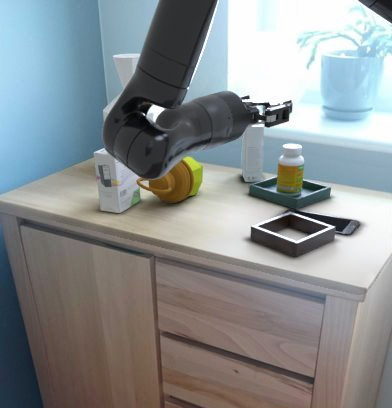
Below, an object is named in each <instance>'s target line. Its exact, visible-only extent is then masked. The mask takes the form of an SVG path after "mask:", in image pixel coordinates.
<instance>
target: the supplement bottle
mask: <svg viewBox="0 0 392 408" xmlns="http://www.w3.org/2000/svg"><path fill="white" fill-rule="evenodd" d="M302 152H303V146H302V145H301V144H298V143H286V144H283V145H282V149H281V154H282V155H280V156H279V158H278V161H277V172H276V173H277V174H276V176H277V187H276V192H278V193H281V194H285V195H288V196H297V195H300V194H301V192H302V183H303V179H304V173H305V172H304V170H305V158H304V157H303V156H302V154H303V153H302Z"/></svg>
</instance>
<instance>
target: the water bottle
mask: <svg viewBox="0 0 392 408" xmlns="http://www.w3.org/2000/svg"><path fill="white" fill-rule="evenodd" d="M203 171H204V166H203V165H202V164H201V163H200V162H198V161H197V160H195V159H194V157H192V156H186V157H184V158H183V159H182V160H181V161H180V162H179V163H178V164H176V165H175V166H174V167H173V168H172V169H171V170H170V171H169V172H168V173H167V174H166V175H165V176H163V177H162V178H159V179H155V180H147V179H143V178H141V177H139V179H137V184H138V186H140V189H143V190H146V191H147V192H150V193H152V194H153V195H155V196H157V198H159V200H161V201H163V202H165V203H169V204H176V203H179V202H181V201H184V200H186V199H187V198H188V197H190V196H191V197H192V196H196V195H197V194H198V193H199V189H200V187H201V186H202V183H203V177H204V175H203ZM145 181H146V182H148V186H146V185H144V184H143V183H141V182H145Z"/></svg>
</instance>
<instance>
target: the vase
mask: <svg viewBox="0 0 392 408" xmlns="http://www.w3.org/2000/svg"><path fill="white" fill-rule="evenodd" d="M139 57H140V53H119V54H113V55H112V59H113V62H114V65H115V69H116V72H117V75H118V78H119V81H120V84H121V86H122V89H123V90H124V89H125V87H126V85H127V84H128V82H129V81H130V79H131V78H132V76H133V74H134V72H135V69H136V66H137V64H138V60H139ZM123 90H122V91H120V93H118V95H116V97H114V98H113V99H112V100H111V101H110V103H108V104H106V106H105V107H104V108H103V110H102V115H103V117H102V118H103V122H104V121H105V118H106V117H107V115H108V113H109V112H110V110H111V109H112V107H113V106H114V104H115V103H116V101H117V100H118V98H119V97H120V95H121V93H122V92H123ZM163 110H165V108H161V107H158V106H155V105H153V106H152V107H151V108H150V109H149V111H148V113H147V117H148V118H150V119H151V120H152V121H154V122H155V121H156V118H157V116H158V115H159V114H160V113H161V112H162V111H163Z"/></svg>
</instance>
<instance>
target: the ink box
mask: <svg viewBox="0 0 392 408" xmlns="http://www.w3.org/2000/svg"><path fill="white" fill-rule="evenodd" d="M92 153H93V160H94V161H93V162H94V167H95V168H94V169H95V176H96V184H97V191H98V192H97V193H98V200H99V209H100V211H103V212H109V213H115V214H121V213H123V212H125V211H126V210H128V209H130V208H132V206H135V205H137V204H138V203H139V202H141V201H142V199H141V198H142V197H141V187H140V186H138V184H137V179H139V178H140V177H139V176H137V175H136V174H135V173H133V172H132V171H131V170H130V169H128V168H127V167H126V166H124V165H123V164H121V163H120V162H119V161H118V160H116V159H115V158H113V157H112V156H111V155H110V154H108V152H107V151H106V150H105V148H104V147H103V148H101V149H99V150H96V151H94V152H92Z"/></svg>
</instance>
